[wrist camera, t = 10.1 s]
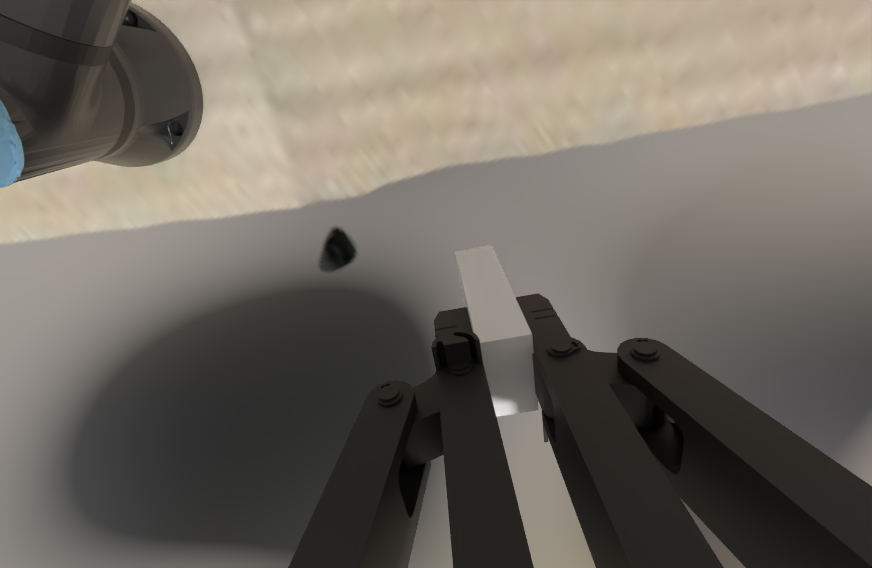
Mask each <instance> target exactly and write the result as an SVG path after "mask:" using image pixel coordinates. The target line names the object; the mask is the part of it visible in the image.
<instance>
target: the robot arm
mask: <svg viewBox="0 0 872 568" xmlns="http://www.w3.org/2000/svg"><path fill="white" fill-rule="evenodd" d="M202 113H203V96H202V89H201V84H200V81H199V77H198V74H197V71H196V69H195V66H194V64H193V62H192V60H191V58H190V56H189V55H188V53H187V51H186V50H185V48H184V47H183V45H182V44H181V42H180V41H179V40H178V39H177V37H176V36H175V35H174V34H173V33H172V32H171V31H170V29H169V28H168V27H166V26H165V25H164V24H163V23H162V22H161V21H160V20H159V19H157V18H156V17H155V16H153V15H152V14H151V13H149V12H148V11H146V10H144V9H143V8H141V7H139V6H137V5H135V4H133V3H131V0H0V188H2V187H6V186H9V185H11V184H13V183H15V182H18V181H22V180H25V179H29V178H32V177H36V176H40V175H43V174H47V173H50V172H54V171H57V170H61V169H64V168H68V167H72V166H75V165H79V164H82V163H86V162H89V161H98V162H103V163H108V164H113V165H119V166H126V167H141V166H149V165H153V164H156V163H159V162H163V161H166V160H169V159H171V158H173V157H175V156H177V155H178V154H180V153H181V152H182V151H184V150H185V149H186V148H187V147H188V146H189V145H190V143H191V142H192V141H193V139H194V138H195V136H196V134H197V132H198V129H199V127H200V123H201V119H202ZM455 254H456V260H457V266H458V272H459V278H460V285H461V291H462V297H463V303H464V308H458V309H453V310H448V311H441V312H439V313H438V315H437V317H436V318H435V320H434V325H435V336H436V339H435V340H434V341H433V343H432V352H433V357H434V361H435V366H436V372H435V374H434V375H433V376H432V377H431V378H430V379H429V380H427V381H426V382H424V383H422V384H420V385H417V386H415V387H413V388H412V387H411V385H410V384H408V383H406V382H403V381H397V380H395V381H389V382H385V383H383V384H380V385H378V386H377V387H376V388H374V389H373V390H371V392H370V393H369V394H368V396H367V398H366V400H365V402H364V404H363V406H362V408H361V410H360V413H359V415H358V417H357V419H356V421H355V424H354V426H353V428H352V430H351V432H350V434H349V437H348V439H347V441H346V443H345V445H344V448H343V450H342V452H341V454H340V456H339V458H338V461H337V463H336V465H335V467H334V469H333V472H332V474H331V476H330V478H329V480H328V482H327V485H326V487H325V489H324V491H323V493H322V495H321V498H320V500H319V502H318V504H317V506H316V509H315V511H314V513H313V515H312V517H311V519H310V522H309V524H308V526H307V528H306V530H305V532H304V535H303V537H302V539H301V541H300V543H299V545H298V548H297V550H296V552H295V554H294V556H293V559H292V561H291V563H290V565H289V567H288V568H408V564H409V560H410V555H411V551H412V547H413V542H414V537H415V533H416V529H417V525H418V520H419V516H420V511H421V507H422V502H423V498H424V494H425V490H426V485H427V480H428V477H429V472H430V468H431V460H433V459H435V458H437V457H439V456H441V455H443V454H444V464H445V476H446V486H447V499H448V511H449V522H450V534H451V545H452V557H453V568H534V567H533V563H532V559H531V555H530V551H529V547H528V543H527V539H526V535H525V531H524V527H523V523H522V519H521V515H520V511H519V507H518V503H517V499H516V494H515V490H514V487H513V483H512V478H511V474H510V470H509V466H508V463H507V458H506V454H505V450H504V446H503V442H502V438H501V434H500V430H499V426H498V422H497V418H496V417H498V416H504V415H510V414H516V413H522V412H528V411H535V410H538V401H539V403H540V406H541V408H542V419H543V432H544V442H548V438H549V441H550V444H551V446H552V449H553V452H554V455H555V457H556V460H557V463H558V465H559V468H560V471H561V474H562V476H563V479H564V481H565V484H566V487H567V490H568V492H569V495H570V498H571V501H572V503H573V506H574V509H575V512H576V514H577V517H578V520H579V522H580V525H581V528H582V530H583V533H584V536H585V539H586V541H587V544H588V547H589V550H590V552H591V555H592V558H593V560H594V563H595V566H596V568H723V566H722V565H721V563H720V562H719V560H718V558H717V557H716V555H715V553H714V552H713V550H712V549H711V547H710V545H709V544H708V542H707V541H706V539H705V538H704V536H703V534H702V533H701V531H700V529H699V528H698V526H697V525H696V523H695V521H694V520H693V518H692V517H691V515H690V513H689V512H688V510H687V509H686V507H685V505H684V504H683V502H682V501H681V499H682V500H683V501H684V502H685V503H686V504H687V506H688V507H689V508H690V509H691V510H692V511H693V512H694V513H695V514H696V515H697V516H698V517H699V518H700V519H701V520H702V521H703V522H704V524H705V525H706V526H707V527H708V528H709V529H710V530H711V531H712V532H713V533H714V534H715V535H716V536H717V537H718V538H719V540H721V542H722V543H723V544H724V545H725V546H726V547H727V548H728V549H729V550H730V551H731V552H732V553H733V554H734V556H735V557H736V558H737V559H738V560H739V561H740V562H741V563H742V564H743V565H744V566H745V567H746V568H872V486H870V485H869V484H868V483H866V482H865V481H863V480H861V479H860V478H859V477H857V476H856V475H854V474H853V473H851V472H850V471H849V470H847V469H846V468H844V467H843V466H841V465H840V464H838V463H837V462H836V461H834V460H833V459H831V458H830V457H828V456H827V455H825V454H824V453H822V452H821V451H820V450H818V449H817V448H815V447H814V446H812V445H811V444H809V443H808V442H806V441H805V440H803V439H802V438H801V437H799V436H798V435H796V434H795V433H793V432H792V431H790V430H789V429H788V428H786V427H785V426H783V425H781V424H780V423H779V422H777V421H776V420H774V419H773V418H771V417H770V416H769V415H767V414H766V413H764V412H763V411H761V410H760V409H758V408H757V407H755V406H754V405H753V404H751V403H750V402H748V401H746V400H745V399H744V398H742V397H741V396H740V395H738V394H737V393H735V392H734V391H732V390H731V389H729V388H728V387H726V386H725V385H724V384H722V383H720V382H719V381H718V380H716V379H715V378H713V377H712V376H710V375H709V374H708V373H706V372H705V371H703V370H702V369H700V368H699V367H697V366H696V365H694V364H693V363H692V362H690V361H688V360H687V359H686V358H684V357H683V356H681V355H680V354H678V353H677V352H675V351H674V350H673V349H671V348H670V347H668V346H667V345H665V344H663V343H661V342H659V341H656V340H652V339H648V338H634V339H629V340H627V341H624V342H623V343H621V344H620V346H619V347H618V349H617V350H618V351H617V353H604V352H594V351H590V350H587V348H586V347H585V346H584V345H583V344H582V343H581V342H580V341H579V340H576V339H574V338H571V337H570V335H569V333H568V332H567V330H566V328H565V327H564V325H563V324H562V322H561V320H560V318H559V317H558V316H557V313H556V312H555V310H554V309H553V307H552V305H551V303H550V302H549V300H548V299H546V298H545V297H543V296H541V295H540V294H533V295H527V296H521V297H515V296H514V293H513V291H512V289H511V287H510V285H509V282H508V280H507V278H506V276H505V274H504V271H503V269H502V267H501V265H500V263H499V261H498V258H497V256H496V254H495V252H494V250H493V248H492V245H488V246H483V247H477V248H471V249H467V250H460V251H455ZM537 398H538V399H537ZM680 498H681V499H680Z"/></svg>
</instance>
